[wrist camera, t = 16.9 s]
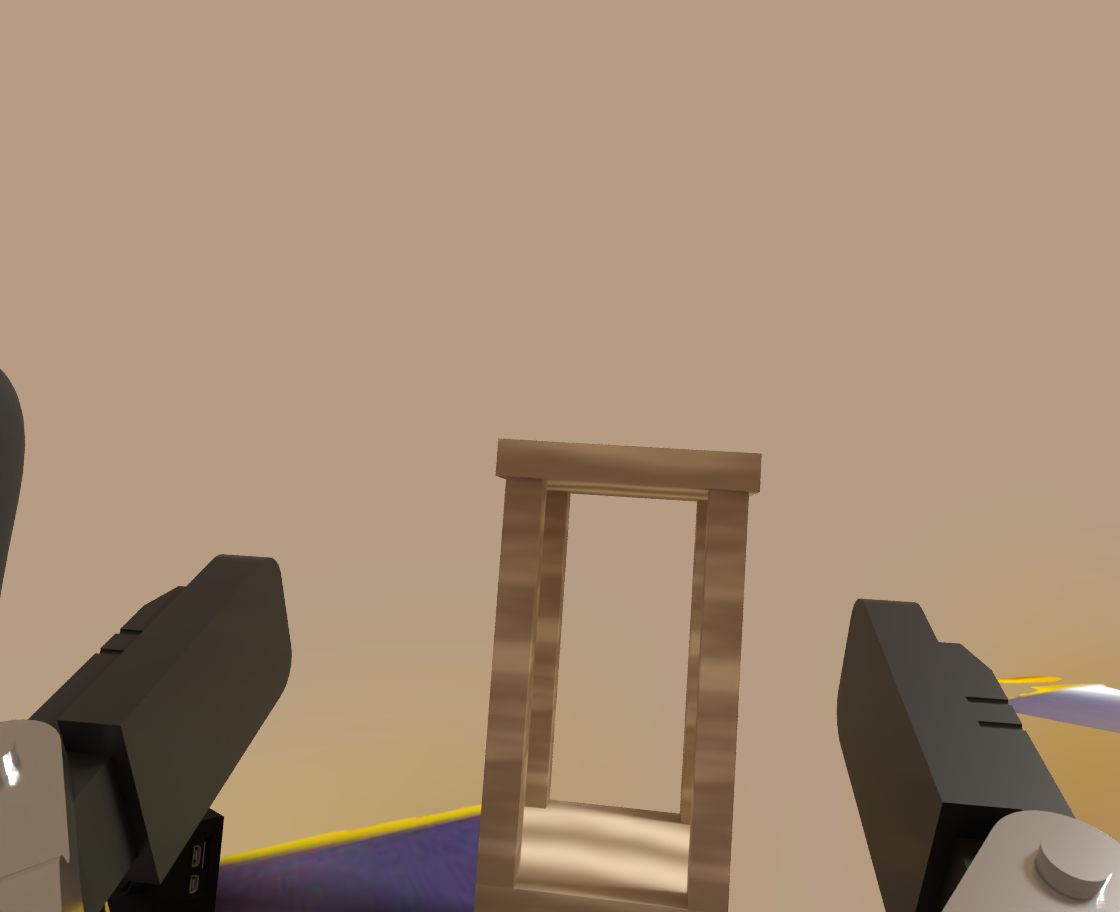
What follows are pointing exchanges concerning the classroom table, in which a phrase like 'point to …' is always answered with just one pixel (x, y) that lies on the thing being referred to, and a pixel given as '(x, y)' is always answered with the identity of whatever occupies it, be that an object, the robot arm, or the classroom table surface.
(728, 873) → the tall stand
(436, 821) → the classroom table surface
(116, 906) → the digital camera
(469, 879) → the classroom table surface
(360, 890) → the classroom table surface
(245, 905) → the classroom table surface
